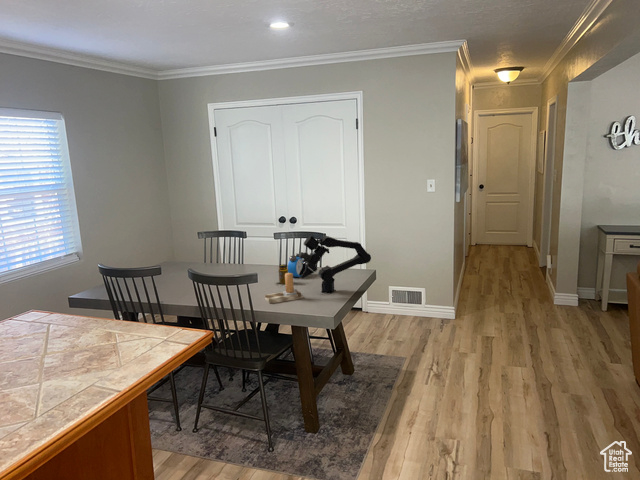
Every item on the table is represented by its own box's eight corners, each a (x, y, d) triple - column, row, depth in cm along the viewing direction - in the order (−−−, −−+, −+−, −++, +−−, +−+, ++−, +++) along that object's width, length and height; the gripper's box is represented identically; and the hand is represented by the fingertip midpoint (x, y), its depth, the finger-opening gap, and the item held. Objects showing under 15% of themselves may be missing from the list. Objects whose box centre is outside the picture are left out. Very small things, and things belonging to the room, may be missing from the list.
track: (297, 294, 271) (297, 289, 270) (302, 298, 263) (302, 293, 262) (265, 299, 264) (264, 294, 264) (269, 303, 256) (268, 298, 255)
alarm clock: (296, 279, 304) (295, 256, 302) (287, 278, 307) (286, 256, 304) (304, 274, 316) (303, 252, 313) (296, 273, 318) (295, 252, 316)
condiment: (291, 283, 295) (290, 265, 293) (279, 286, 290) (278, 267, 288) (285, 281, 301) (284, 263, 299) (274, 283, 296) (273, 265, 294)
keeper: (293, 293, 268) (292, 272, 266) (296, 295, 263) (295, 274, 261) (283, 294, 266) (282, 273, 264) (286, 297, 261) (285, 275, 259)
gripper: (303, 244, 275) (287, 265, 274) (308, 248, 257) (291, 271, 256) (318, 255, 277) (302, 276, 277) (324, 260, 259) (307, 282, 259)
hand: (300, 276), depth 267 cm, fingers open, 9 cm apart
